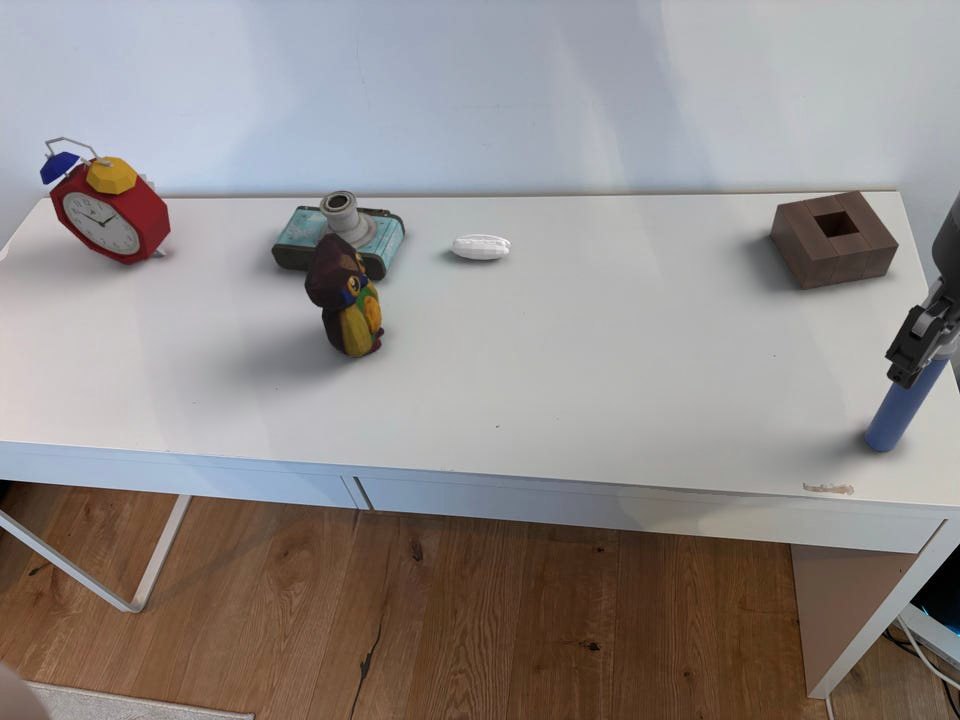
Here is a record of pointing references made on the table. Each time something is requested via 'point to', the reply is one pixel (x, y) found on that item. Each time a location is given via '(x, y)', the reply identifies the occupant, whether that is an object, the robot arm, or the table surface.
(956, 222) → the robot arm
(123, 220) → the alarm clock
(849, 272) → the holder
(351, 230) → the camera
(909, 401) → the handle
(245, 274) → the table surface
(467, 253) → the white oval lump
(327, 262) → the figurine
